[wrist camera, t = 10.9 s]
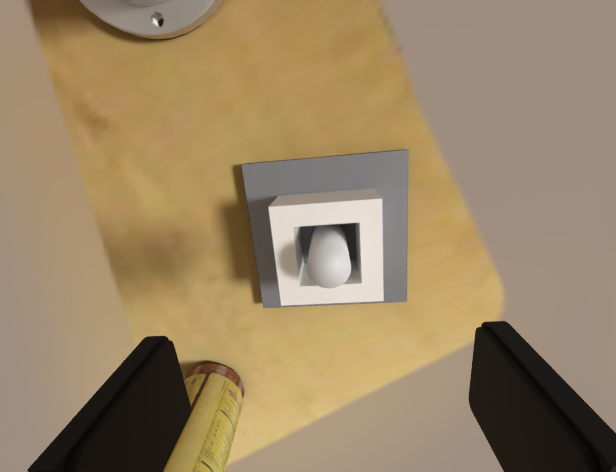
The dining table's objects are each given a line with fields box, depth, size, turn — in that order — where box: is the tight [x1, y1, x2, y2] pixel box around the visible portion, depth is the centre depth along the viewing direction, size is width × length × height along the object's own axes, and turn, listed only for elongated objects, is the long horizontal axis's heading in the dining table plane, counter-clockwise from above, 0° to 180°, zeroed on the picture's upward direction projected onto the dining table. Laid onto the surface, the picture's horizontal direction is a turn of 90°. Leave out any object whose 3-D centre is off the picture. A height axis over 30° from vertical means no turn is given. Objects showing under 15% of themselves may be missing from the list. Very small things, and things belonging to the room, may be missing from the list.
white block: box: [268, 188, 384, 306], centre depth 21 cm, size 7×7×4 cm
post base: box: [242, 150, 409, 308], centre depth 21 cm, size 12×12×7 cm
